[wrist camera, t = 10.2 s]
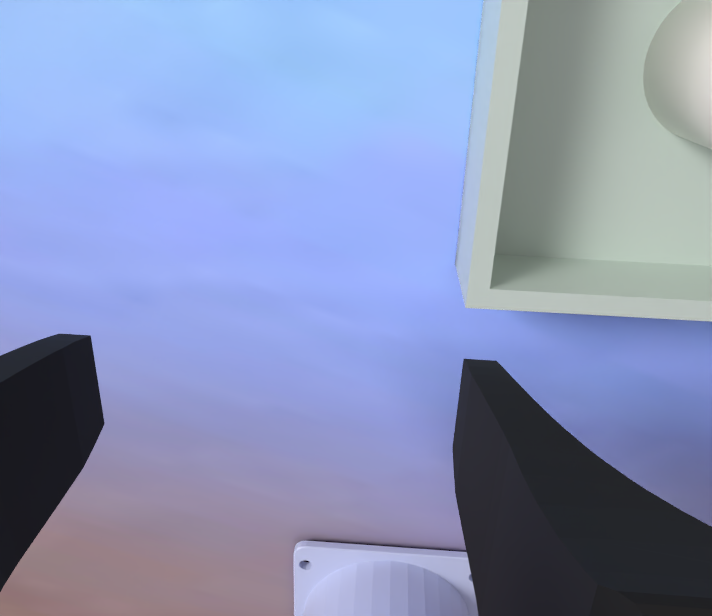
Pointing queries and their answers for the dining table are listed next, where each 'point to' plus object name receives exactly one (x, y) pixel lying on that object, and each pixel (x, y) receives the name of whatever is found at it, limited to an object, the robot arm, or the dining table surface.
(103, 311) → the dining table surface
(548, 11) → the tote
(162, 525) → the dining table surface
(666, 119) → the white capsule cylinder
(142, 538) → the dining table surface
